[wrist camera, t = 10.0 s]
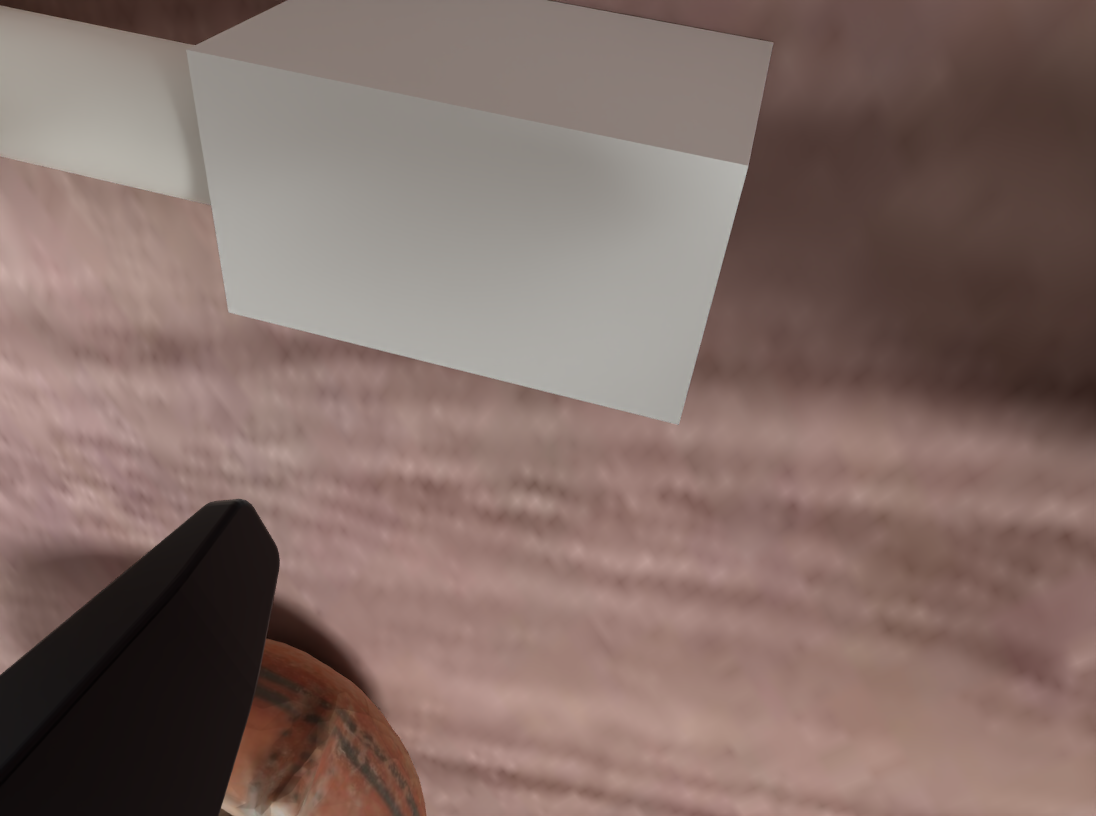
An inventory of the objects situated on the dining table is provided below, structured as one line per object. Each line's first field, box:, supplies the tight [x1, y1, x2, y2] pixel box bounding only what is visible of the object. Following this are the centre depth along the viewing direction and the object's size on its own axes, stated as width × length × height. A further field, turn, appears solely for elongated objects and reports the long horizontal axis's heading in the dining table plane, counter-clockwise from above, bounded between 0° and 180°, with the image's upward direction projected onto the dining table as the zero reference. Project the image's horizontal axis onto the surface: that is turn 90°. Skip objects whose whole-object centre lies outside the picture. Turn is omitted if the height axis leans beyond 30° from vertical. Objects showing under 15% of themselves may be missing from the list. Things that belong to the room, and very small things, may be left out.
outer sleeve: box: [186, 0, 774, 425], centre depth 17 cm, size 9×5×6 cm, turn 84°
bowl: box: [219, 638, 426, 816], centre depth 35 cm, size 16×16×10 cm
